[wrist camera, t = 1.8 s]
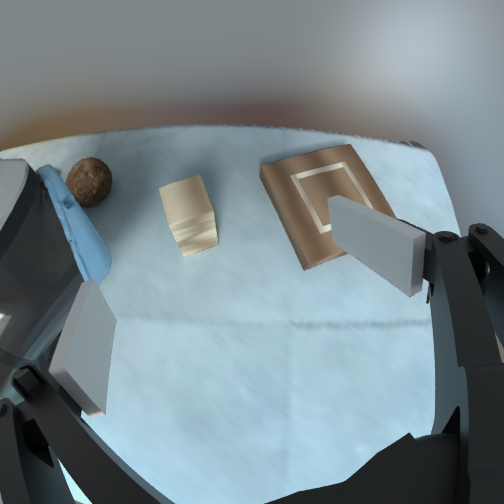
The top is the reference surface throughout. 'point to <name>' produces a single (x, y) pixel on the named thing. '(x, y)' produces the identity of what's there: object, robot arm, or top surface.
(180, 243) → the beech pillar
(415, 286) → the robot arm
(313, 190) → the base board
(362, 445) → the top surface
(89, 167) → the mushroom
